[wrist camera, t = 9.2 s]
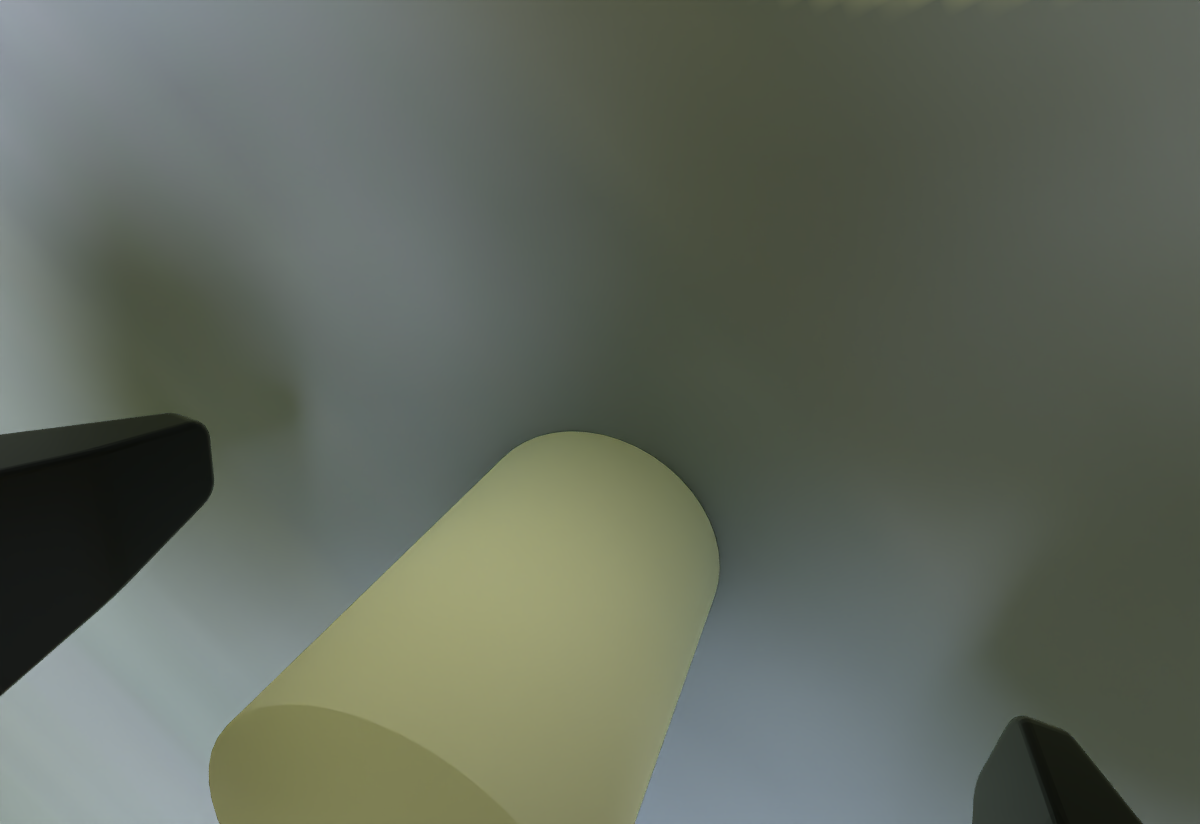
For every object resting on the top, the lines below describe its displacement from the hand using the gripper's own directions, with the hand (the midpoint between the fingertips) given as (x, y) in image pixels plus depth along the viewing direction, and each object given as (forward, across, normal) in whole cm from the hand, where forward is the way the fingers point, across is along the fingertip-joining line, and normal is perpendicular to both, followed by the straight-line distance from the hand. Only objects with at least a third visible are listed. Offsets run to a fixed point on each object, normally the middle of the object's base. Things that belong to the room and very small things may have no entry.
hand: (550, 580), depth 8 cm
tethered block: (+1, -1, +9) cm, 9 cm away
